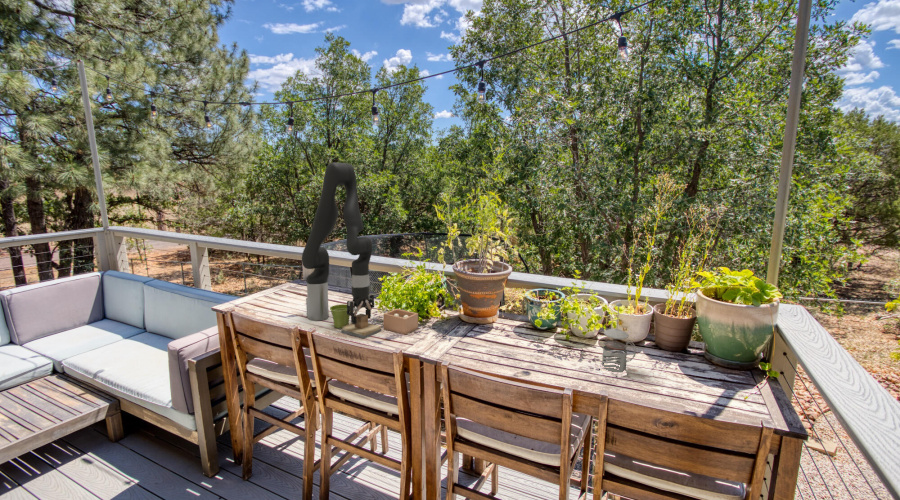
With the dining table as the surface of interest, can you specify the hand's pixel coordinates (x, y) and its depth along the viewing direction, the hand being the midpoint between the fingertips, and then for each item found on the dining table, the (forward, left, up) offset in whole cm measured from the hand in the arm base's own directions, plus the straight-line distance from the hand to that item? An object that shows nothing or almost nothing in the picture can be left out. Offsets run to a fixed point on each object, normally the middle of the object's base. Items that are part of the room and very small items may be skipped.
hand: (361, 321), depth 179 cm
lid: (0, 0, -4) cm, 4 cm away
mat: (0, 0, -5) cm, 5 cm away
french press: (+100, +21, -5) cm, 102 cm away
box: (+12, +12, -5) cm, 18 cm away
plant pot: (-12, 0, -5) cm, 13 cm away
